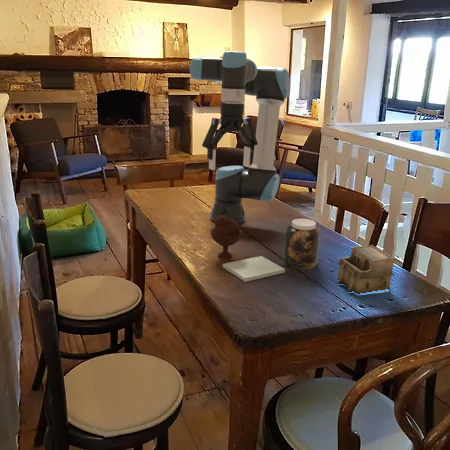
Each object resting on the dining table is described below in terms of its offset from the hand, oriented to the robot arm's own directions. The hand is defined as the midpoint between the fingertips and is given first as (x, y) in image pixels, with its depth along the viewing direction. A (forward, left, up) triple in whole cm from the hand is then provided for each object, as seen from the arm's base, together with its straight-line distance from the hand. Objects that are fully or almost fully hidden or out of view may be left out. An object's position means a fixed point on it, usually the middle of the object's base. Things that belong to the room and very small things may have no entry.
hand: (229, 167), depth 165 cm
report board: (-2, +14, -32) cm, 35 cm away
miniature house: (-26, +40, -32) cm, 57 cm away
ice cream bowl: (0, 0, -32) cm, 32 cm away
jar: (-20, +17, -32) cm, 41 cm away
